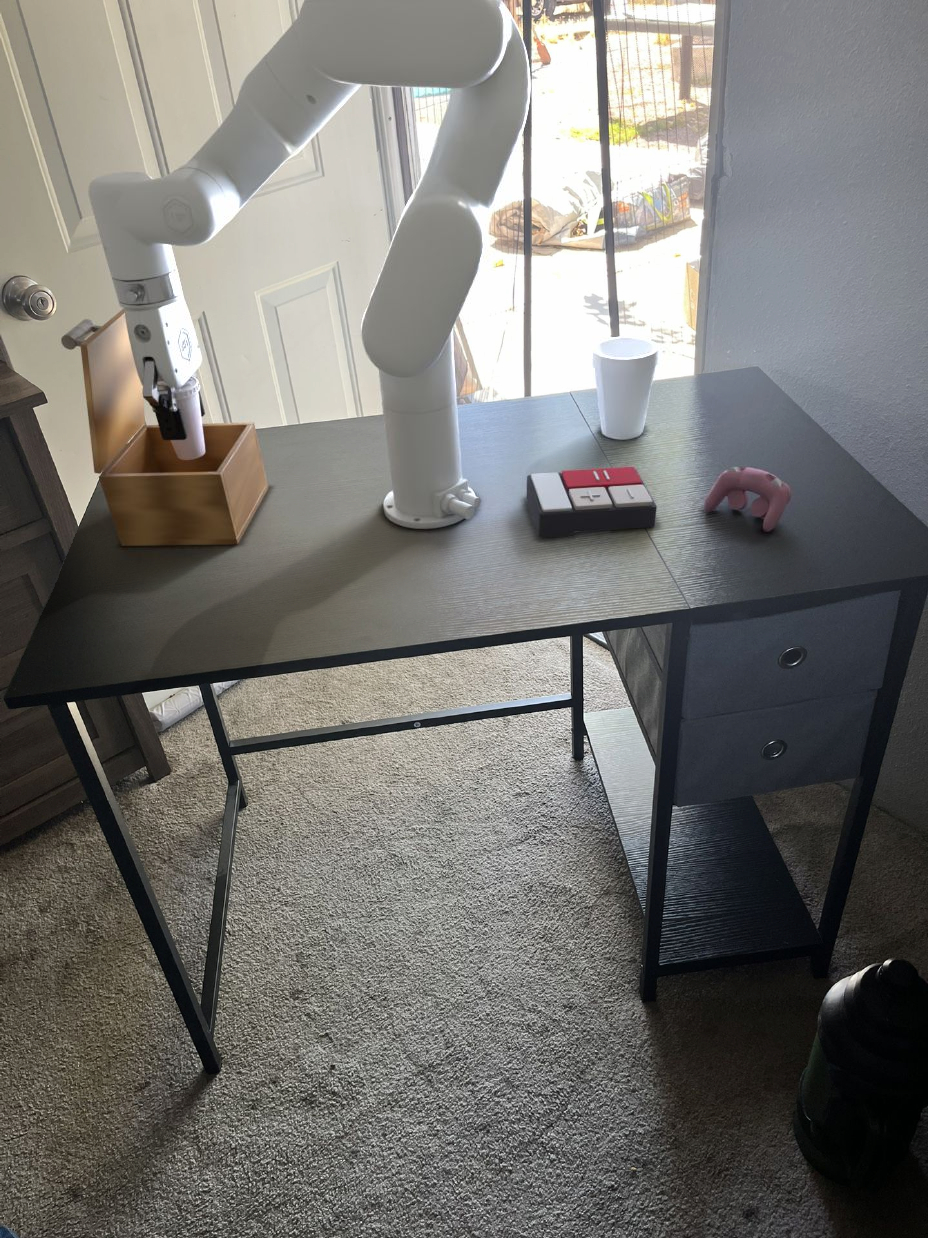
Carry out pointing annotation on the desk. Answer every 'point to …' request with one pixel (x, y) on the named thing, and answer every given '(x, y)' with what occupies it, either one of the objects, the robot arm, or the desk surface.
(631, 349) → the foam cup
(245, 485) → the box
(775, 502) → the video game controller
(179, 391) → the smoothie
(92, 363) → the box lid
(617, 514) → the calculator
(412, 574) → the desk surface
